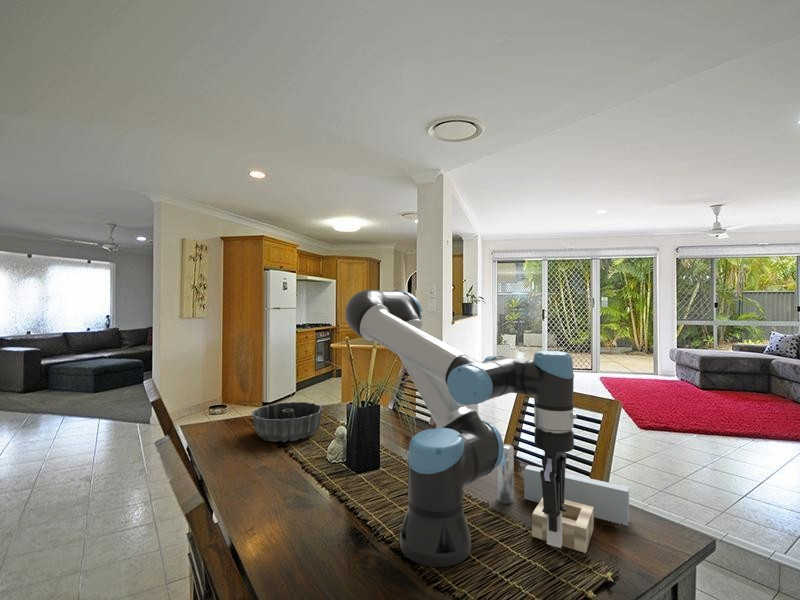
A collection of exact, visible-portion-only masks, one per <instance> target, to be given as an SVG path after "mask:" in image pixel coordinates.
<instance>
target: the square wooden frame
mask: <svg viewBox="0 0 800 600" xmlns="http://www.w3.org/2000/svg"><path fill="white" fill-rule="evenodd" d="M564 500H565V499H564ZM562 506H563V507H566V512H564V511H560V512H562V546H561V547H565V548H568V549H571V550H575V551H578V552H582V553H584V554H587V551H588V548H589V545H590V543H591V542H590V541H591V538H592V535H593V531H594V528H595V526H594V524H595V522H594V521H595V520H594V519H595V517H594V507H592V506H588V505H584V504H580V503H576V502H572V501H568V500H565V502H564V504H562ZM543 508H544V507H543V497H542V499H541V501H540V502H539V503H538V504H537V505H536V507H535V508H534V510H533V512H532V514H531V537H532V538H537V539H539V540H542V541H546V542H547V514H544V512H542V510H543Z"/></svg>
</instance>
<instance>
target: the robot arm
mask: <svg viewBox="0 0 800 600" xmlns="http://www.w3.org/2000/svg"><path fill="white" fill-rule="evenodd" d="M422 311H423V310H422V307H421V303H420V301H419V300H418V299H417V297H416V296H414V294H412V293H410V292H408V291H403V290H398V289H397V290H396V289H393V290H377V289H365V290H361V291H358V292H357V293H355V294H353V295H352V296H351V297H350V298H349V300H348V302H347V304H346V307H345V312H344V313H345V321H346V323H347V325H348V326H349V328H350V329H351V330H352V331H353V332H354V333H355V334H356V335H358V336H359V337H361V338H362V339H364V340H366V341H368V342H372V341H373V342H374V341H376V343H378V344H379V345H382V346H383V347H385V348H386V349H388V350H390V351H391V352H392V353H394V354H396V355H398V357H399V359H400V360H401V362H402V364H403V366H404V368H405V370H406V371H407V373H408V376H409V377H410V379H411V380H412V383H413V384H414V386H415V388H416V389H417V392H418V394H419V395H420V397H421V399H422V400H423V403H424V404H425V406H426V408H427V410H428V411H429V413H430V416H432V419H433V422H434V423H435V424H436V427H435V428H428V429H423V430H421V431H419V432H417V433H416V434H415V435H414V436H413V437H412V438H411V439H410V442H409V444H408V453H407V464H408V465H407V466H408V467H407V469H408V470H407V471H408V473H407V478H408V479H407V481H408V483H407V485H408V486H407V488H408V489H407V490H408V492H407V493H408V495H407V496H408V498H407V499H408V500H407V501H408V503H407V504H408V505H407V506H408V507H407V510H406V513H405V516H404V519H403V523H402V525H401V528H400V532H399V547H400V548H399V549H400V550H401V552H402V554H403V555H404V556H405V557H406V558H407V559H409V560H411V561H413V562H414V563H416V564H419V565H421V566H426V567H432V568H445V567H446V568H447V567H453V566H456V565H458V564H461V563H462V562H463V561H465V560H466V559H467V558H469V556H470V554H471V552H472V537H471V536H472V535H471V532H470V529H469V525H468V522H467V519H466V517H465V516H466V515H465V513H464V489H465V488H464V487H466V486H468V485H470V484H472V483H473V482H476V481H477V480H479V479H480V478H483V477H486V476H487V475H490V474H491V473H492V472H493V470H496V469H497V468H498V465H499V464H500V462H501V460H502V458H503V452H504V445H503V444H504V441H503V436H501V433H500V431H499V430H498V429H497V427H496V426H494V424H492V423H491V422H490V423H489V422H488V421H485V420H482V419H481V417H480V416H479V415H480V414H479V415H478V414H477V412H476V411H475V410H473V409H469V408H467V407H466V406H465V405H471V404H478V405H479V404H482V403H484V402H486V401H488V400H491V399H495V398H499V397H500V396H505V395H508V394H519V395H524V396H525V395H527V396H533V399H534V400H533V401H534V402H533V403H534V405H533V406H534V408H533V409H534V410H533V411H534V416H533V417H534V418H533V419H534V420H533V421H534V422H533V423H534V425H535V427H534V444H535V446H536V448H538V449H541V450H543V452H544V455H543V456H542V457H541V465H542V468H543V470H541V471H540V476H541V481H542V493H543V507H544V508H543V510H542V512H544V514H547V541H546V545H550V546H552V547H555V548H558V549H562V547H563V546H562V512H560V511H564V512H566V507H563V506H562V504H564V502H565V500H564V492H565V473H566V466H567V465H566V464H567V457H568V456H567V454H566V453H568V452H571V451H573V450H574V448H575V437H574V435H575V432H574V430H573V429H574V420H575V419H577V417H578V415H577V414H576V413H574V386H575V385H574V382H575V381H574V379H575V374H574V364H573V361H574V360H573V357H572V354H570V353H568V352H565V351H557V350H539V351H536V352H534V355H533V356H534V357H533V359H525V358H517V357H508V356H504V355H497V356H494V355H493V356H492V355H490V356H487V357H485V359H484V360H483V361H482V362H481V361H479V360H477V359H475V358H472V357H471V356H469V355H467V354H465V353H464V352H461V351H460V350H458V349H456V348H454V347H453V346H450V345H449V344H447V343H446V342H443V341H441V339H438V338H436V337H434V336H432V335H430V334H429V333H427V332H425V331H423V330H422V327H423V321H422V319H423V318H422V316H423V315H422V313H421V312H422Z"/></svg>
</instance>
